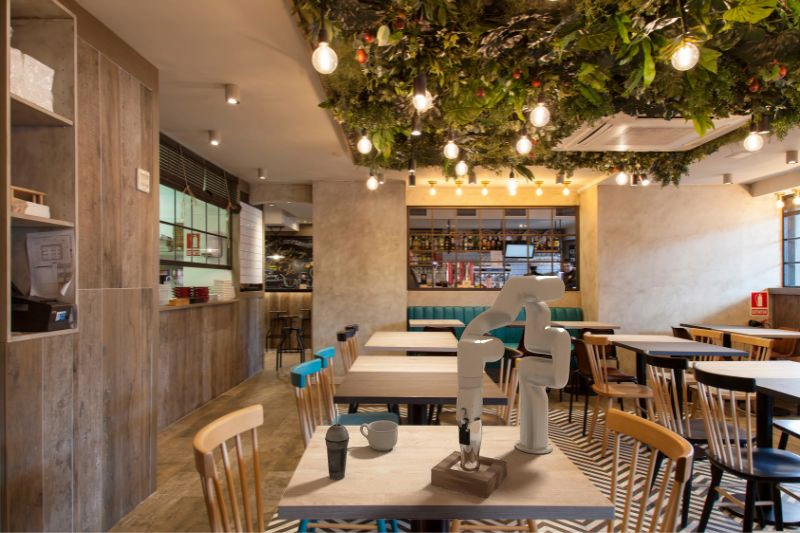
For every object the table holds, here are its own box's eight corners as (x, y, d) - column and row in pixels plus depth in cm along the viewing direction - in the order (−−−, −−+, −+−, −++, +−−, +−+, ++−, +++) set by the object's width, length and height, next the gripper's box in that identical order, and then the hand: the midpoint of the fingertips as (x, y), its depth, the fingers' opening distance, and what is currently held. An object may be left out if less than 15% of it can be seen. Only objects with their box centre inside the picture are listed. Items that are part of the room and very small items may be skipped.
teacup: (403, 446, 175) (404, 423, 175) (386, 456, 165) (386, 431, 166) (371, 439, 182) (371, 417, 182) (353, 447, 173) (353, 424, 173)
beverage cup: (329, 484, 143) (329, 414, 143) (321, 474, 150) (321, 408, 150) (352, 479, 146) (353, 411, 147) (344, 470, 153) (344, 405, 153)
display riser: (454, 465, 158) (454, 450, 158) (507, 476, 149) (507, 461, 149) (431, 484, 143) (431, 468, 143) (487, 498, 135) (487, 481, 135)
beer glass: (481, 474, 142) (481, 422, 142) (457, 472, 144) (457, 420, 144) (482, 465, 149) (482, 415, 149) (459, 463, 150) (459, 414, 151)
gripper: (469, 374, 156) (470, 428, 156) (446, 386, 141) (447, 446, 141) (492, 376, 152) (493, 432, 152) (471, 389, 137) (471, 451, 137)
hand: (470, 439), depth 147 cm, fingers open, 9 cm apart
